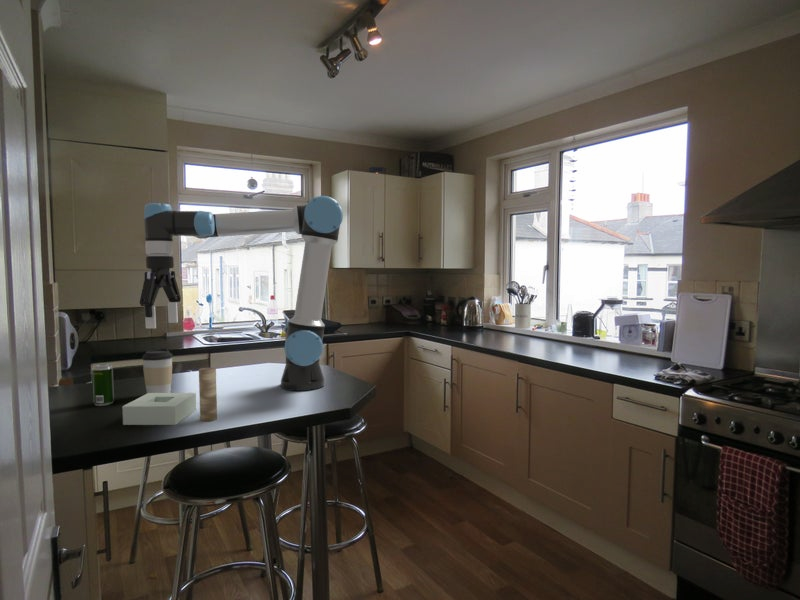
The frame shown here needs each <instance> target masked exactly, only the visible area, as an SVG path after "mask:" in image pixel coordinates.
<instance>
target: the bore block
mask: <svg viewBox="0 0 800 600" xmlns="http://www.w3.org/2000/svg"><path fill="white" fill-rule="evenodd" d="M121 407H122V425H123V426H127V425H128V426H131V425H132V426H133V425H134V426H135V425H136V426H141V425H142V426H155V425H156V426H163V425H164V426H170V425H171V426H176V425H178V423H180V422H181V421H183V420H184V419H186V418H187V417H188V416H190V415H191V414H192V413H193V412H195V411H197V392H170V393H147V392H146V394H144V395H142V396H140V397H138V398H136V399H135V400H132V401H130V402H128V403H126V404H124V405H123V406H121Z"/></svg>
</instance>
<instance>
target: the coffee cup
mask: <svg viewBox="0 0 800 600" xmlns="http://www.w3.org/2000/svg"><path fill="white" fill-rule="evenodd" d="M141 360H142V364H143V365H142V370H143V376H144V378H143V379H144V384H145V390H146V394H147V393H172V392H171V389H172V388H171V387H172V386H171V385H172V376H173V353H172V352H170V351H169V350H168V349H167V348H162V347H161V348H159V349H152V350H148V351H145V353H144V354H143V355H142V358H141Z"/></svg>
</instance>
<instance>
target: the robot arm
mask: <svg viewBox="0 0 800 600" xmlns="http://www.w3.org/2000/svg"><path fill="white" fill-rule="evenodd" d="M143 210H144V211H143V212H144V213H143V214H144V215H143V222H144V223H143V225H144V237H145V238H144V239H145V245H144V248H145V254H146V255H148V256H146V257H145V263H146V264H145V265H146V266H145V267H146V268H147V269H148V270H149V269H150V271H145V272H144V280H143V285H142V288H141V289H142V290H141V294H140V299H139V304H140V307H144V314H145V315H144V317H145V318H144V320H145V329H157V316H156V314H157V313H156V305H154V304H155V301H156V299H157V297H158V293H159V290H160V289H161V288H162V289H163V291H164V294H165V295H166V297H167V299H168V301H169V302H167V321H168V323H169V324H171V323H173V324H175V323H176V324H177V323H179V316H178V303H180V302H181V293H180V289H179V286H178V283H177V279H176V272H175V271H174V270H170V269H173V268H174V267H175V264H174V256H173V254H174V242H173V240H174V239H173V237H174V236H176V237H178V236H179V237H194V238H197V239H200V240H201V239H202V240H203V239H208V238H217V237H219V238H220V237H230V236H231V237H232V236H233V237H234V236H235V237H236V236H248V235H265V234H278V233H293V232H295V233H296V234H297V235H301V238H302V239H303V240H304V247H303V248H304V249H303V255H302V256H303V257H302V262H301V269H300V276H299V282H298V289H297V296H296V303H295V309H294V315H293V317H291V318H290V319H288V321H286V323H285V324H284V332H285V333H284V335H285V338H284V340H285V341H284V342H285V343H284V353H285V366H284V369H283V373H282V376H281V379H280V387H281V389H284V390H286V389H287V391H295V390H297V391H299V392H300V391H303V392H304V391H312V390H311V389H313V390H318V389H320V387H321V388H322V386H323V387H325V385H324V384H325V383H326V382H325V381H326V380H325V376H324V373H323V370H322V367H321V364H320V358H321V356H322V355H323V352H324V345H323V344H324V343H323V339H324V332H325V327H326V324H325V323H324V322H323V320H322V315H323V308H324V301H325V294H326V288H327V283H328V281H327V280H328V275H329V267H330V264H331V262H330V261H331V255H332V249H333V246H334V245H336V244H337V243H338V242H339V241H338V240H339V234H340V227H341V225H342V222H343V219H344V215H343V213H344V212H343V209H342V207H341V204H340V203H338V200H336V199H334V198H333V197H330V196H327V195H319V196H316V197H313V198H312V199H310V200H309V201H308V202H307V204H305V205H295V206H294V207H293V208H292V209H277V210H260V211H258V210H257V211H246V212H243V211H242V212H229V213H228V212H227V213H225V212H224V213H215V214H214V213H213V212H211V211H203V210H199V211H198V210H193V211H192V210H191V211H190V210H182V211H181V210H173V209H172V205H171V204H169V203H158V202H154V203H152V202H151V203H147V204H145V205H144V209H143ZM317 388H318V389H317ZM297 391H296V392H297Z"/></svg>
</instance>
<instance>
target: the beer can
mask: <svg viewBox="0 0 800 600" xmlns="http://www.w3.org/2000/svg"><path fill="white" fill-rule="evenodd" d="M112 365H113V364H112V363H99V364H94V365H92V369H91V373H92V393H93V394H92V395H93V405H94V406H96V407H104V406H110V405H112V404H114V401H115V392H114V367H113V366H112Z"/></svg>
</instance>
